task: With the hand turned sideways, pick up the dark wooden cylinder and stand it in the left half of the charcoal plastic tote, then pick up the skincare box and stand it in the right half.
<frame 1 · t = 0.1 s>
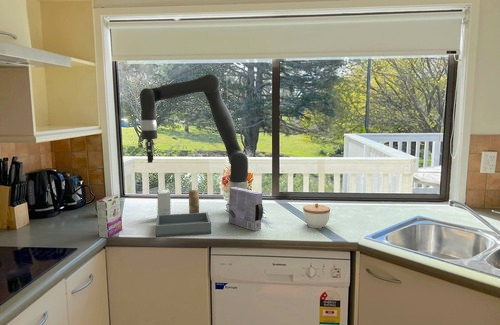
hand: (150, 161, 182), 29 cm above the countertop, tool pointing down, fingers open, 8 cm apart
tote: (183, 229, 167), on the countertop
skincare box: (164, 219, 182), on the countertop
cake pan box: (245, 226, 172), on the countertop
lidded bowl: (316, 226, 172), on the countertop
wooden cylinder: (194, 217, 185), on the countertop
candy bar box: (110, 234, 161), on the countertop
bell pepper: (104, 215, 190), on the countertop
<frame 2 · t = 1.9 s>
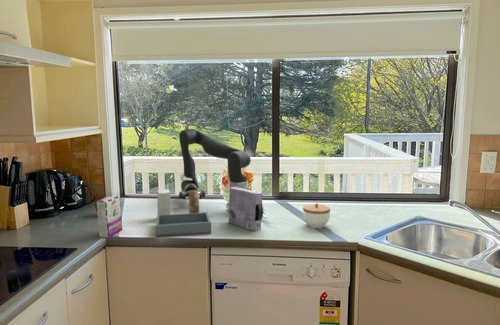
hand: (192, 197, 195), 8 cm above the countertop, tool horizontal, fingers open, 8 cm apart
nothing on the countertop moved.
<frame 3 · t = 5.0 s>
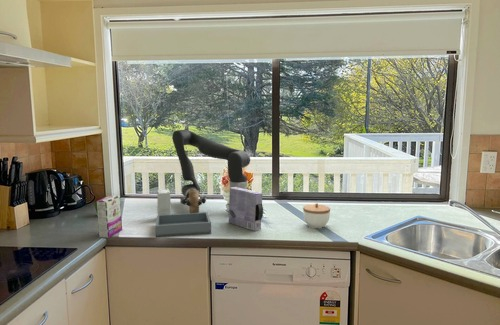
hand: (194, 203, 182), 8 cm above the countertop, tool horizontal, fingers closed on wooden cylinder, 5 cm apart
wooden cylinder: (194, 217, 185), on the countertop, touching gripper
everything else where it was.
when the fingers open (10 cm above the countertop, at t = 10.4 s): wooden cylinder drops 1 cm, resting on tote.
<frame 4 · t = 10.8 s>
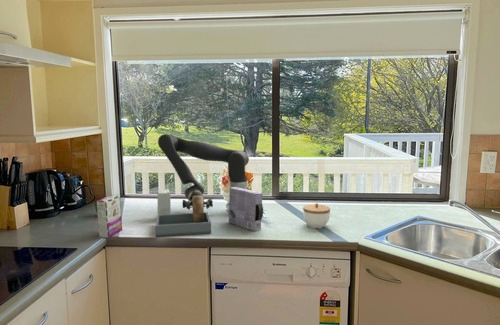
hand: (198, 207, 166), 10 cm above the countertop, tool horizontal, fingers open, 8 cm apart
wooden cylinder: (198, 225, 169), point 1 cm above the countertop, touching tote
everything else where it was.
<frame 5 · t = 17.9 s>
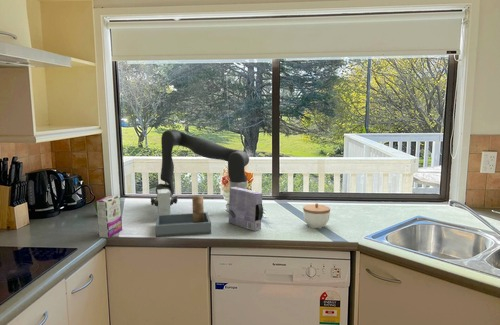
hand: (163, 203, 179), 9 cm above the countertop, tool horizontal, fingers closed on skincare box, 6 cm apart
skincare box: (164, 219, 182), on the countertop, touching gripper
everything else where it was.
when the fingers open (11 cm above the countertop, at t = 23.5 s): skincare box drops 1 cm, resting on tote.
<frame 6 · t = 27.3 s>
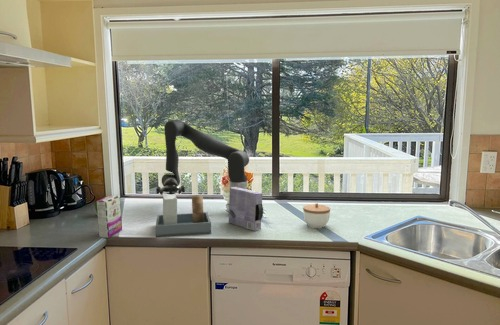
hand: (170, 192, 180), 14 cm above the countertop, tool horizontal, fingers open, 8 cm apart
skincare box: (170, 228, 166), point 1 cm above the countertop, touching tote
everything else where it was.
at the end: wooden cylinder inside the target area on the tote (6.9 cm from its centre), point 1.1 cm above the tote's base; skincare box inside the target area on the tote (5.9 cm from its centre), point 0.8 cm above the tote's base; the gripper is holding nothing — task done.
